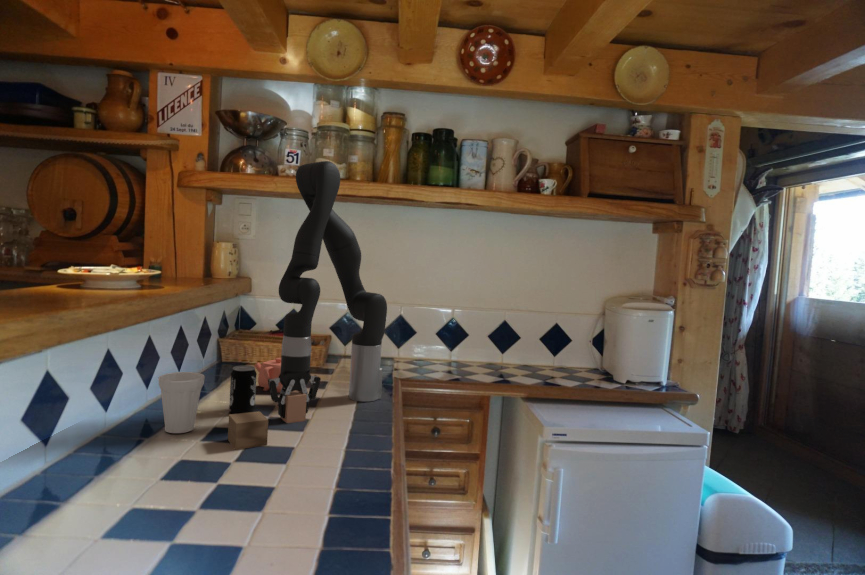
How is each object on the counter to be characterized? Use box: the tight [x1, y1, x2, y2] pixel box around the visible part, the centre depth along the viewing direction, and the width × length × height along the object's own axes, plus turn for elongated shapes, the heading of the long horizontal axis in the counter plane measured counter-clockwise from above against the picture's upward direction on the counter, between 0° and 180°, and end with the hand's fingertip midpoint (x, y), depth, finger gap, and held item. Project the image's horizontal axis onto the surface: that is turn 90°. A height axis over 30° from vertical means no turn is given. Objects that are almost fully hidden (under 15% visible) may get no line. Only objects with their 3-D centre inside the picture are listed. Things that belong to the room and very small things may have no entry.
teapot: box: [253, 357, 283, 394], centre depth 166 cm, size 14×12×10 cm
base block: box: [227, 411, 269, 450], centre depth 119 cm, size 7×7×6 cm
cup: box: [158, 371, 206, 434], centre depth 124 cm, size 10×10×13 cm
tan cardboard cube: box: [280, 391, 307, 424], centre depth 138 cm, size 5×5×7 cm
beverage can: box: [229, 365, 257, 414], centre depth 142 cm, size 7×7×12 cm
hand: (292, 415), depth 138 cm, fingers closed on tan cardboard cube, 5 cm apart
